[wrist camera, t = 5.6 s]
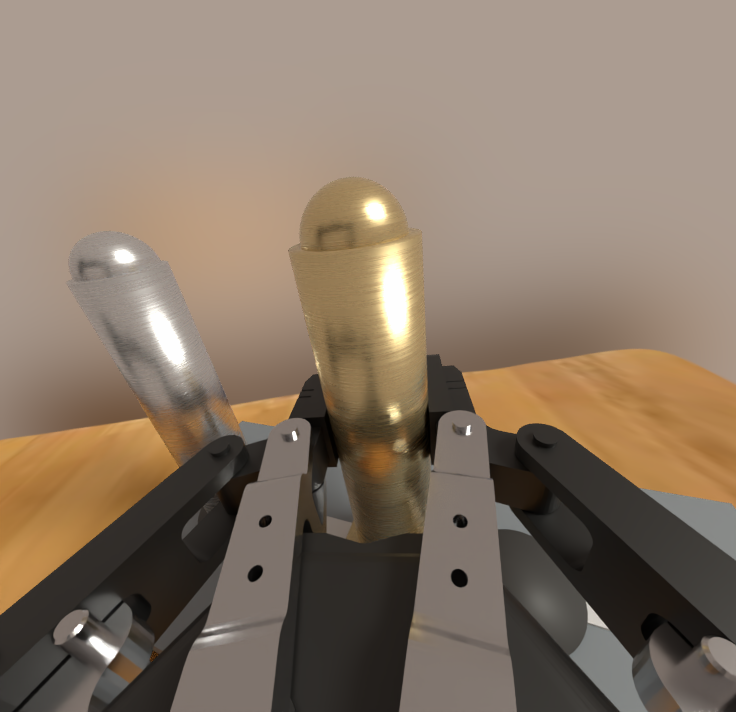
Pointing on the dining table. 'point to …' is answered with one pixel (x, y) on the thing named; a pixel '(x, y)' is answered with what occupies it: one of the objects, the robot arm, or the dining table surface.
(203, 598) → the board
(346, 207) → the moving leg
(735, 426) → the dining table surface
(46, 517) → the dining table surface
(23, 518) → the dining table surface
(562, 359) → the dining table surface
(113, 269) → the fixed leg
